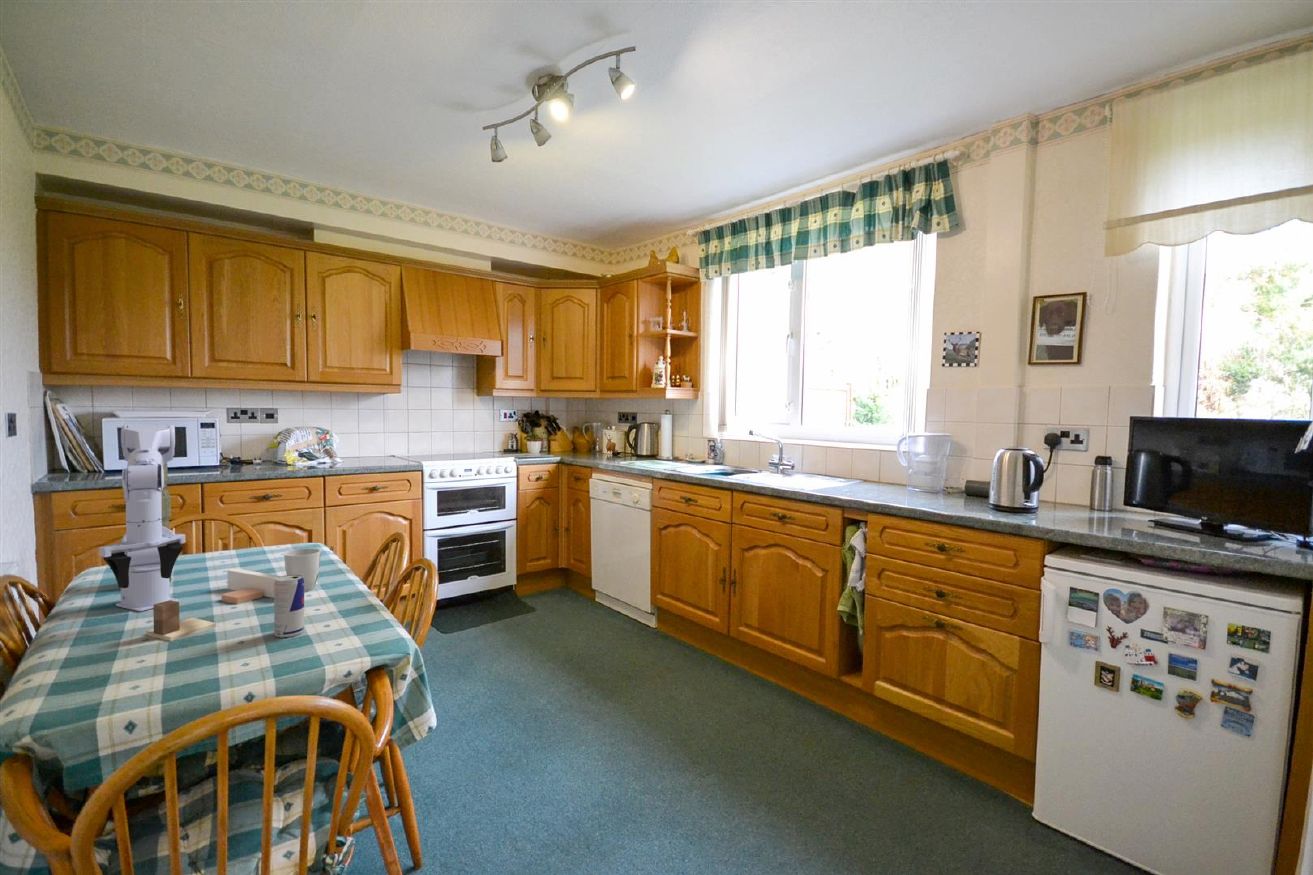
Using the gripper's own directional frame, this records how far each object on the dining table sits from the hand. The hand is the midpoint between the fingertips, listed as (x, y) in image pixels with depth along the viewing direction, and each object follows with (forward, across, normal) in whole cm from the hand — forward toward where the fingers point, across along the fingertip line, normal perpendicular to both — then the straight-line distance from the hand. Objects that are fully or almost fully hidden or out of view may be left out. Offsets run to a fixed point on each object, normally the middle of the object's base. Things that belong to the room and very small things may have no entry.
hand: (145, 582), depth 122 cm
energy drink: (+10, +9, -32) cm, 35 cm away
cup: (+10, +31, -8) cm, 33 cm away
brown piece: (+10, +1, -10) cm, 14 cm away
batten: (+9, +24, -1) cm, 26 cm away
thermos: (+10, +18, +33) cm, 39 cm away
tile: (+10, +20, -1) cm, 22 cm away
